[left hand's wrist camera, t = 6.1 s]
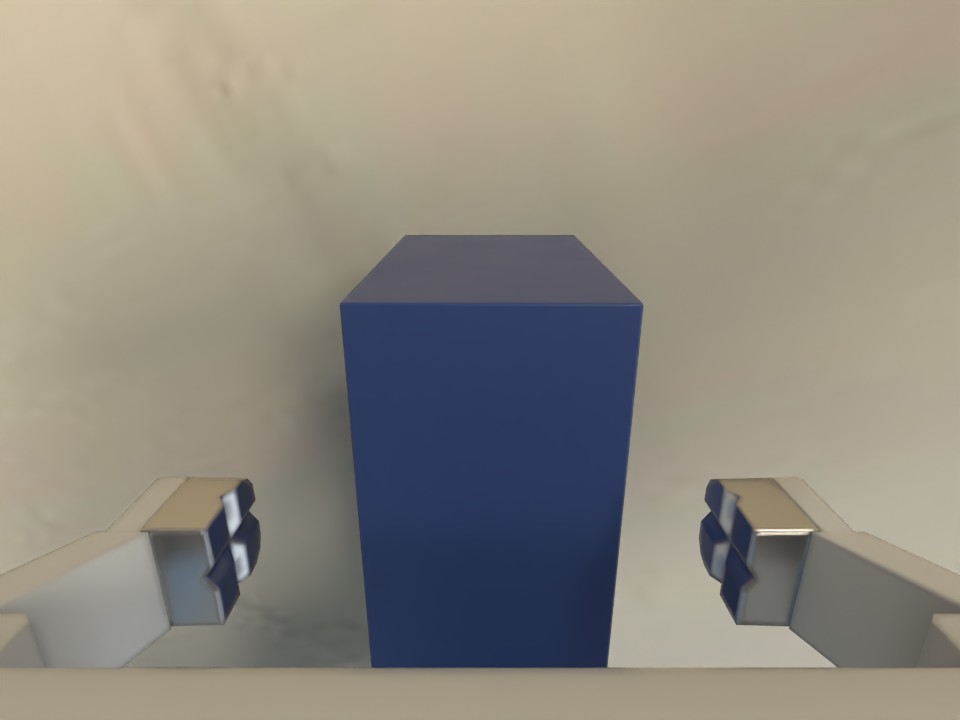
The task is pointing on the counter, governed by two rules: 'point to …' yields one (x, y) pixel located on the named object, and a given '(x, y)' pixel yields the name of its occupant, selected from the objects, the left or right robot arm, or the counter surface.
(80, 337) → the counter surface
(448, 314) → the block
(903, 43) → the counter surface
